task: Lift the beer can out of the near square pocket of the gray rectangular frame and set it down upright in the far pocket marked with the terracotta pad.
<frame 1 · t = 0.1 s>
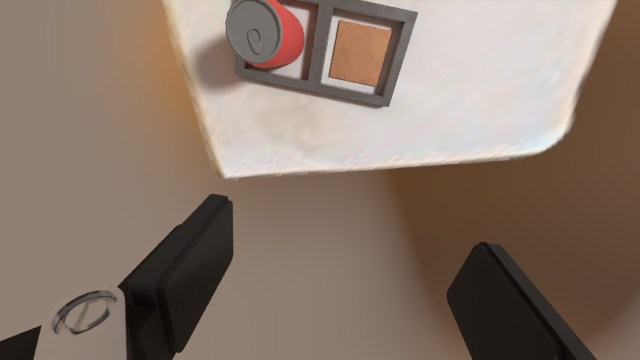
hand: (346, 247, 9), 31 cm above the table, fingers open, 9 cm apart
beer can: (282, 38, 34), resting in gray rectangular frame
gray rectangular frame: (320, 46, 34), on the table
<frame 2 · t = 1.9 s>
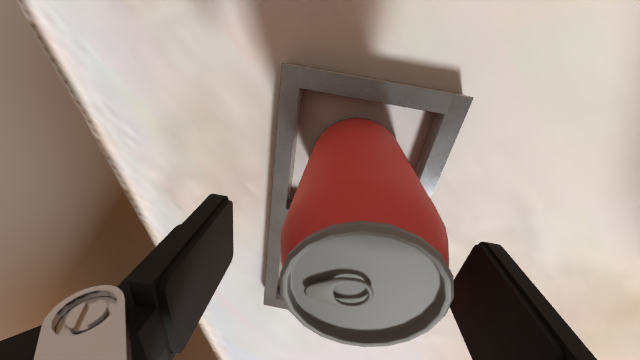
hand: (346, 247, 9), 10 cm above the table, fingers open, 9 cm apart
beer can: (354, 158, 19), resting in gray rectangular frame
gray rectangular frame: (340, 218, 21), on the table
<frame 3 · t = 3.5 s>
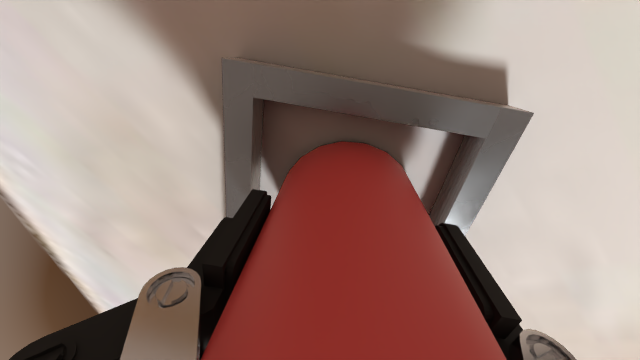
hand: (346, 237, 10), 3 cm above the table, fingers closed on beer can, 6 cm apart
beer can: (345, 195, 13), resting in gray rectangular frame, touching gripper
gray rectangular frame: (327, 270, 15), on the table
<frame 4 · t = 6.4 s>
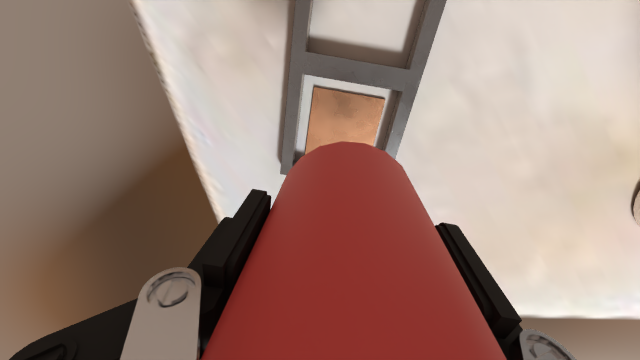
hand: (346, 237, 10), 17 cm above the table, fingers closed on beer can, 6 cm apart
beer can: (345, 195, 13), point 14 cm above the table, touching gripper
gray rectangular frame: (354, 71, 23), on the table
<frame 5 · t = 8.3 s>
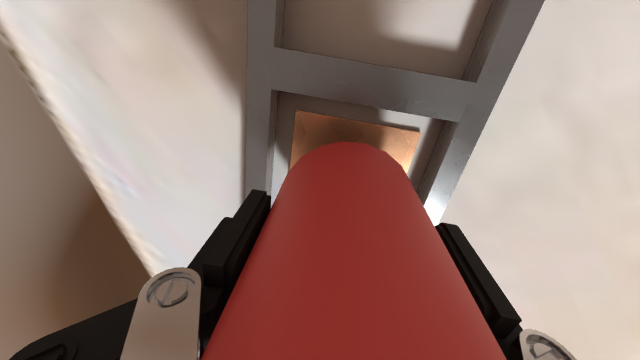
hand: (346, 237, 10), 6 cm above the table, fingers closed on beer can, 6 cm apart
beer can: (345, 195, 13), point 2 cm above the table, touching gripper
gray rectangular frame: (367, 82, 13), on the table
when the fingers open (5 cm above the table, at t = 9.5 s): beer can drops 1 cm, resting on gray rectangular frame.
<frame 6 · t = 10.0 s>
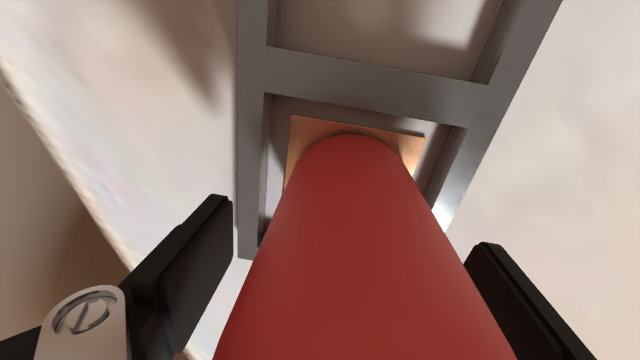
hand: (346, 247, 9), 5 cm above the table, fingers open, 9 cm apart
beer can: (348, 184, 14), resting on gray rectangular frame
gray rectangular frame: (368, 84, 12), on the table
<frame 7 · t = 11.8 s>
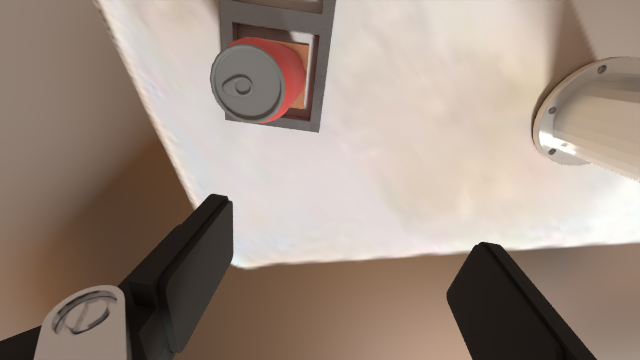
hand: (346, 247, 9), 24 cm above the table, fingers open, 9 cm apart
beer can: (278, 75, 29), resting on gray rectangular frame
gray rectangular frame: (279, 20, 26), on the table
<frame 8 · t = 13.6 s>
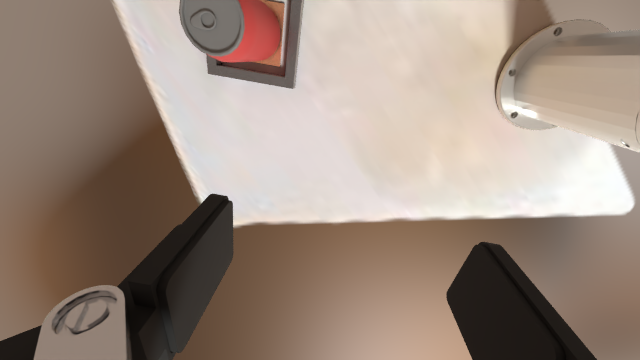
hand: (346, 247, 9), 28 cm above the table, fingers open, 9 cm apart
beer can: (256, 32, 31), resting on gray rectangular frame
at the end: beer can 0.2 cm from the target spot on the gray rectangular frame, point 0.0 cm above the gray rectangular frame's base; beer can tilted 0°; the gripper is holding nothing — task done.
